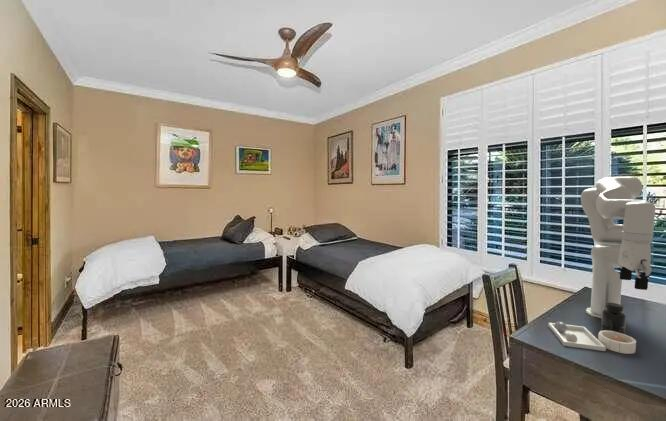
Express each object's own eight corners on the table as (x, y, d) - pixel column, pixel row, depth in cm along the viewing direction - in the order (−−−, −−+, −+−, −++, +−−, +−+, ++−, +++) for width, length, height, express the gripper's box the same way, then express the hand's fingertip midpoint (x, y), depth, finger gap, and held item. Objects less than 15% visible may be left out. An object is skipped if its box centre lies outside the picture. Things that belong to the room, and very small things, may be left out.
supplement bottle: (627, 341, 112) (629, 309, 111) (602, 336, 116) (604, 305, 115) (622, 333, 118) (624, 303, 117) (598, 329, 122) (600, 300, 121)
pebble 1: (554, 329, 121) (554, 320, 121) (564, 330, 120) (565, 321, 120) (557, 333, 118) (557, 324, 117) (568, 334, 117) (569, 325, 116)
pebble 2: (563, 339, 113) (564, 330, 112) (574, 341, 112) (575, 332, 111) (567, 344, 110) (567, 335, 109) (578, 345, 108) (579, 336, 108)
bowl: (593, 339, 114) (593, 328, 114) (625, 343, 111) (625, 332, 111) (606, 352, 105) (607, 341, 105) (642, 357, 102) (642, 345, 102)
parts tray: (548, 327, 124) (548, 322, 124) (584, 331, 120) (584, 326, 120) (564, 347, 109) (564, 341, 108) (605, 352, 105) (605, 347, 105)
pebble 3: (615, 348, 107) (616, 338, 106) (609, 343, 110) (610, 333, 110) (628, 350, 105) (629, 340, 105) (622, 344, 109) (623, 335, 108)
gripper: (611, 232, 116) (607, 275, 118) (637, 242, 100) (632, 292, 102) (636, 232, 113) (632, 277, 116) (667, 243, 97) (662, 294, 100)
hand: (632, 284), depth 109 cm, fingers open, 9 cm apart
